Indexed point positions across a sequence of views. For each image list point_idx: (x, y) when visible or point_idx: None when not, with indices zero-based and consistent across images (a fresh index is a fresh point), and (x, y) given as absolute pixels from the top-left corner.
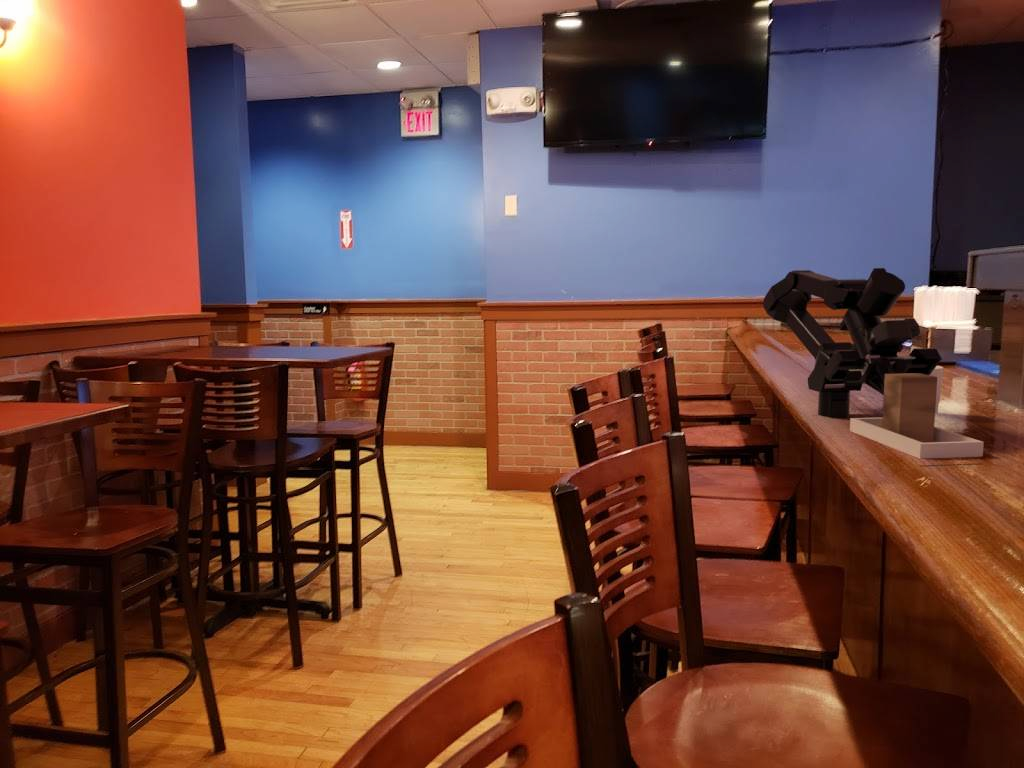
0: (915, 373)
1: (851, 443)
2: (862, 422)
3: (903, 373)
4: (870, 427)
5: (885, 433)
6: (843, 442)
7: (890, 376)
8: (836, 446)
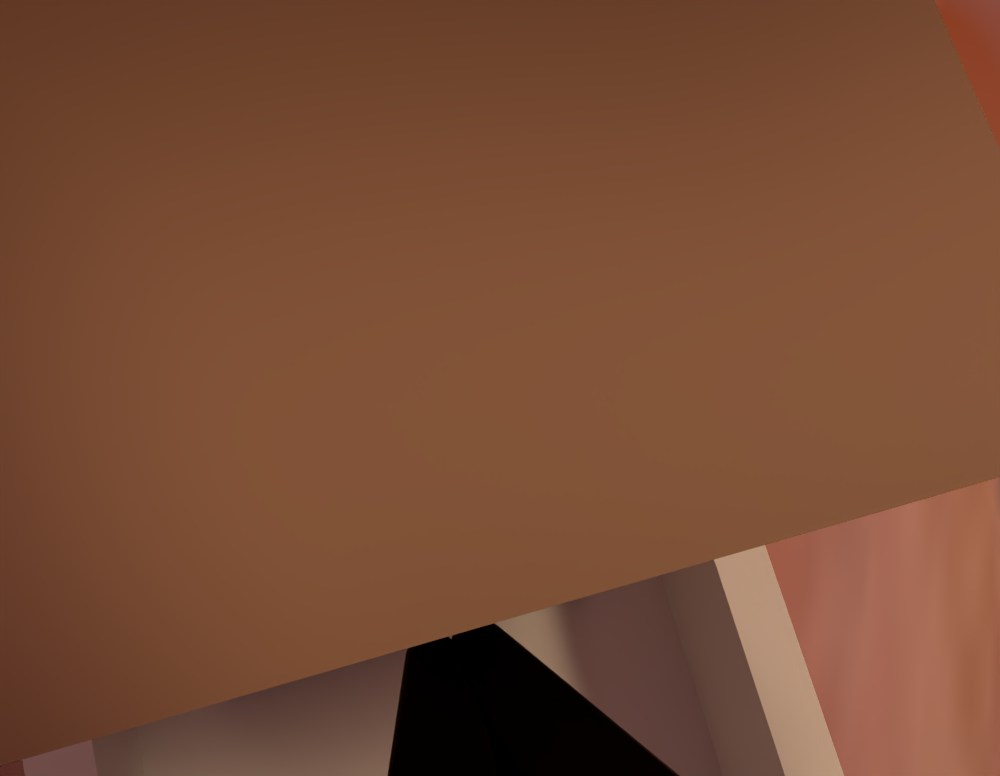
0: (44, 641)
1: (824, 677)
2: (828, 753)
3: (516, 598)
4: (757, 547)
5: None
6: (890, 715)
7: (970, 165)
8: (960, 524)
